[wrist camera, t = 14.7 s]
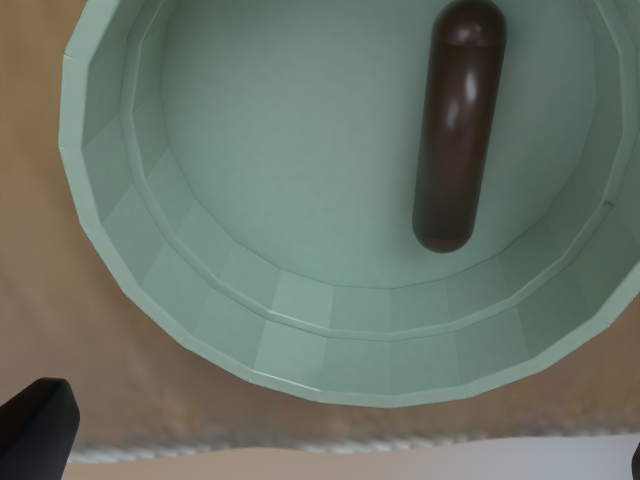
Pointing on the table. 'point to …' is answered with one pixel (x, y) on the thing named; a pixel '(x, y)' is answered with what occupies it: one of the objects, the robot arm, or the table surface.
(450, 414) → the table surface
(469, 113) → the stick
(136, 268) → the bowl
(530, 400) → the table surface
